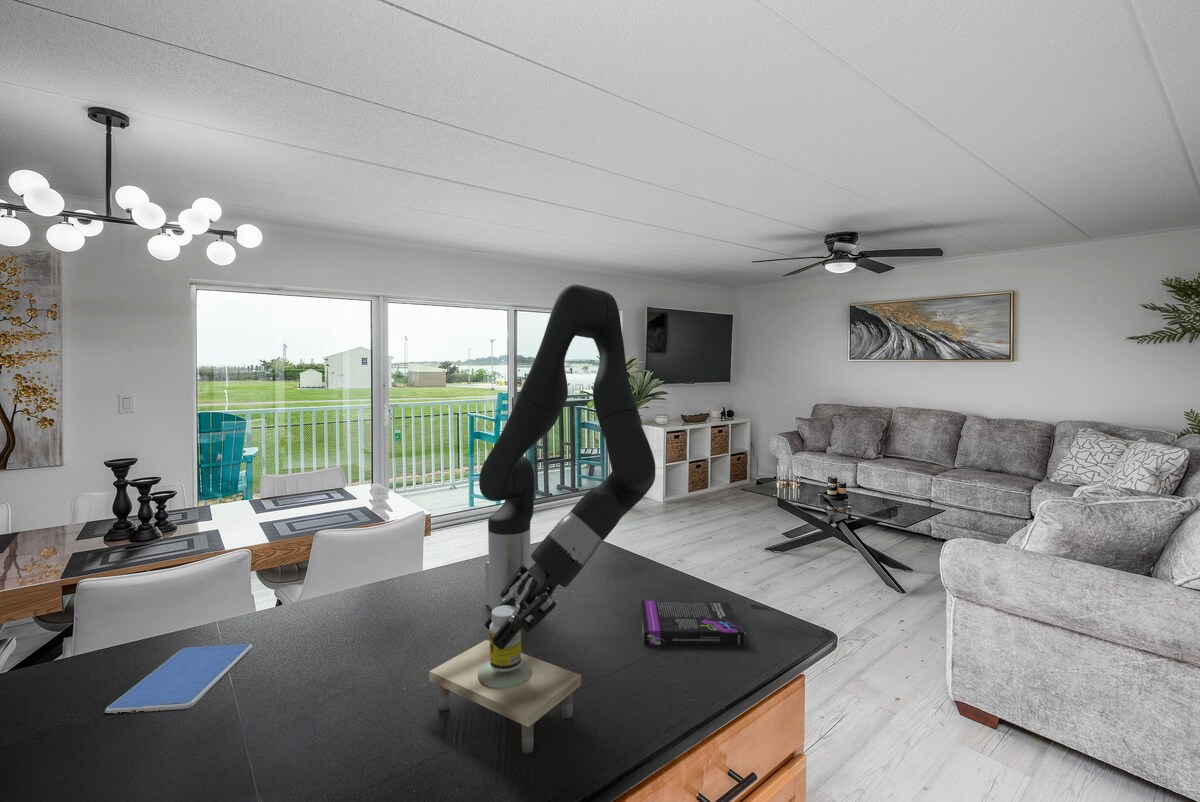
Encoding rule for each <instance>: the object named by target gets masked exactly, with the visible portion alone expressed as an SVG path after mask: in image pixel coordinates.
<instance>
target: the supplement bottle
mask: <svg viewBox="0 0 1200 802" xmlns="http://www.w3.org/2000/svg"><path fill="white" fill-rule="evenodd" d="M515 609H516V607H515V606H511V605H503V606H498V607H496V608H494V609H493V610H491V615H492V617H491V619H492V623H491V624H490V630H489V629H488V630H489V641H490V665H491V667H492V668H493V669H494V670H496V671H500V672H506V671H511V670H514V669H516V668H518V667H519V666H520V664H521V661H522V660H521V653H522V631H521V630H519V631H518V632H517V634H516V635H515V636H514V637H513V638H512V639H511V641H510V642H509V643H508V644H507V645H506V647H505V648H504V649H502V650H501V649H499V648H498V647H496V646H495V645H494V644H493V643H492V638H493V637H494V635H495V634H496V633H497V632H498V631H499V629H500V628H501V627H502V626H503V625H504V624H505V622H506V621H507V620H509V618H510V617H511V615H512V613H513V612H514V610H515Z"/></svg>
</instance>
